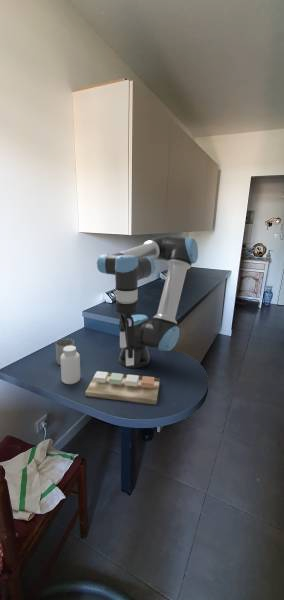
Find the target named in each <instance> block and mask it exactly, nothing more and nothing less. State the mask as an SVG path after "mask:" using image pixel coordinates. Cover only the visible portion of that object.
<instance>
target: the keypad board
mask: <svg viewBox="0 0 284 600" xmlns="http://www.w3.org/2000/svg"><path fill="white" fill-rule="evenodd" d="M112 373H113V372H111V373H110V372H108V378H107V380H106V382H105V383H101V382H94V381H93V378H92V380H90V383H89V385H88V386H87V388H86V390H85V394H84V395H85V397H90V398H91V397H92V398H99V399H106V400H107V399H109V400H116V401H122V402H123V401H124V402H132V403H141V404H148V405H157V402H158V396H159V395H158V394H159V390H160V389H159V388H160V380H161V379H160V378H159V377H158V378H157V377H155V379H154V386H153V388H146V387H141V382H142V378H143V376H141V375H138V376H139V381H138V384H137V386H128V385H125V380H126V377H127V374H123V380H122V383H121V385H119V384H110V383H109V378H110V376H111V374H112ZM95 374H96V372H95ZM95 374H94V375H95Z"/></svg>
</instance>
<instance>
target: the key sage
mask: <svg viewBox="0 0 284 600" xmlns="http://www.w3.org/2000/svg"><path fill="white" fill-rule="evenodd" d="M111 373H112V374H111V376H110V378H109V383H110V384H119V385H121V383H122V380H123V375H124V373H118V372H111Z"/></svg>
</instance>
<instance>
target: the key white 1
mask: <svg viewBox="0 0 284 600" xmlns="http://www.w3.org/2000/svg"><path fill="white" fill-rule="evenodd" d="M95 373H96V374H94V376H93V377H92V379H93V381H94V382H101V383H105V382H106V380H107V378H108V373H109V372H108V371H98V370H97V371H95Z"/></svg>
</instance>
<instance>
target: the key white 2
mask: <svg viewBox="0 0 284 600" xmlns="http://www.w3.org/2000/svg"><path fill="white" fill-rule="evenodd" d="M126 375H127V377H126V380H125V385H128V386H137V384H138V381H139V376H140V375H137V374H126Z"/></svg>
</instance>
